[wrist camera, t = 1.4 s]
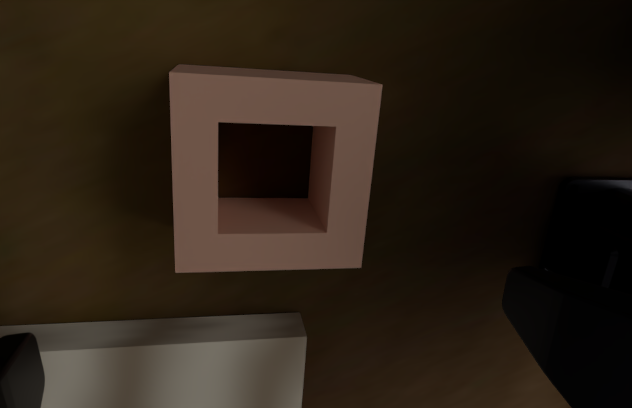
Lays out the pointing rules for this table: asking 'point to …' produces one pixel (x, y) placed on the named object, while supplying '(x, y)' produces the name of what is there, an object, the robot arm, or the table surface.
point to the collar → (271, 213)
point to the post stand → (173, 362)
